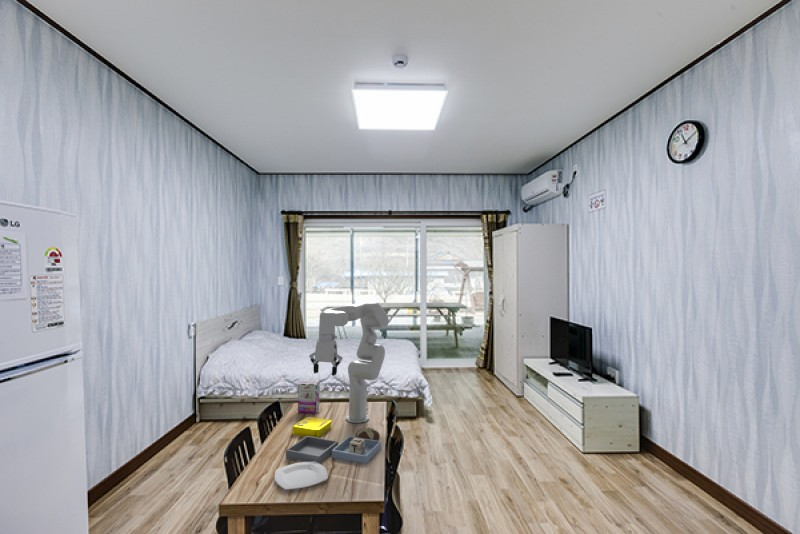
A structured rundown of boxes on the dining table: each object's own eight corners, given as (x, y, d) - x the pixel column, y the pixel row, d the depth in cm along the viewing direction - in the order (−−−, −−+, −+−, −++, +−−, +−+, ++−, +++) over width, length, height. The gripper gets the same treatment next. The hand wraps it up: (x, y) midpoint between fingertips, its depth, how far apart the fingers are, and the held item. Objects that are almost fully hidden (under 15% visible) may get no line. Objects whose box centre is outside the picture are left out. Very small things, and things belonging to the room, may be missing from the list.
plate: (269, 473, 151) (270, 468, 151) (317, 462, 160) (318, 458, 160) (280, 498, 134) (280, 492, 134) (333, 484, 144) (333, 479, 144)
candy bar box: (319, 411, 222) (320, 382, 222) (316, 414, 217) (316, 384, 218) (301, 409, 224) (301, 381, 224) (297, 412, 219) (298, 383, 219)
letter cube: (354, 449, 171) (354, 437, 172) (364, 451, 170) (364, 439, 170) (349, 454, 167) (349, 442, 167) (359, 456, 165) (359, 444, 165)
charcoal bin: (306, 443, 178) (307, 435, 178) (337, 449, 173) (337, 441, 173) (285, 458, 163) (285, 450, 163) (318, 465, 157) (319, 456, 158)
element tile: (317, 439, 183) (317, 429, 184) (290, 435, 188) (290, 425, 188) (332, 428, 198) (332, 419, 198) (307, 424, 202) (307, 415, 203)
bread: (359, 446, 177) (360, 435, 177) (353, 436, 187) (353, 426, 187) (382, 442, 181) (382, 432, 181) (375, 433, 191) (375, 423, 192)
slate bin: (348, 443, 178) (349, 436, 179) (380, 449, 173) (381, 441, 173) (331, 458, 163) (331, 450, 164) (366, 465, 158) (366, 456, 158)
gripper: (346, 338, 185) (344, 374, 184) (314, 335, 191) (313, 370, 189) (339, 339, 178) (337, 377, 177) (306, 337, 184) (304, 373, 182)
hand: (324, 374), depth 183 cm, fingers open, 9 cm apart
